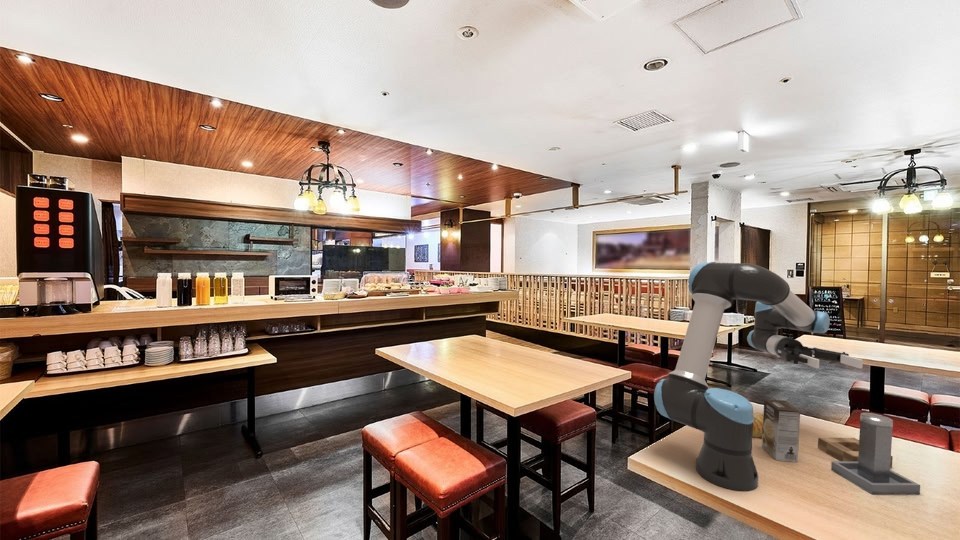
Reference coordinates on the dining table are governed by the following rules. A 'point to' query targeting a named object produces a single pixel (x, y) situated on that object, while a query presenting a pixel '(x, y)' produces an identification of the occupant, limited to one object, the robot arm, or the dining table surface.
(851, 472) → the tray
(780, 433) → the coffee box
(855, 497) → the dining table surface
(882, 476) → the pin
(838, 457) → the block
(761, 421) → the croissant
